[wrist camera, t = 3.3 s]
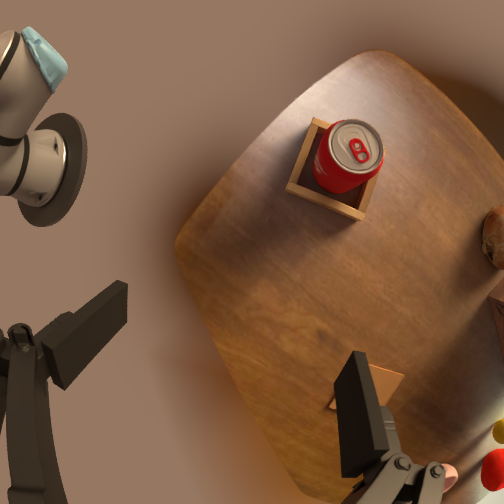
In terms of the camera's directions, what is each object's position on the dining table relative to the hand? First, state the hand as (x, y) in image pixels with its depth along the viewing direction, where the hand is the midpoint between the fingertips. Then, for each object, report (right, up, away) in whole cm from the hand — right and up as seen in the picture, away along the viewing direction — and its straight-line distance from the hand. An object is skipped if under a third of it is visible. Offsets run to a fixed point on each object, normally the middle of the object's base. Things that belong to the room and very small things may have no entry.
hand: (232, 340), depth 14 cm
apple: (+64, -49, +19) cm, 82 cm away
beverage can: (+12, +15, +19) cm, 27 cm away
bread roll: (+41, +8, +16) cm, 45 cm away
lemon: (+57, -34, +18) cm, 69 cm away
